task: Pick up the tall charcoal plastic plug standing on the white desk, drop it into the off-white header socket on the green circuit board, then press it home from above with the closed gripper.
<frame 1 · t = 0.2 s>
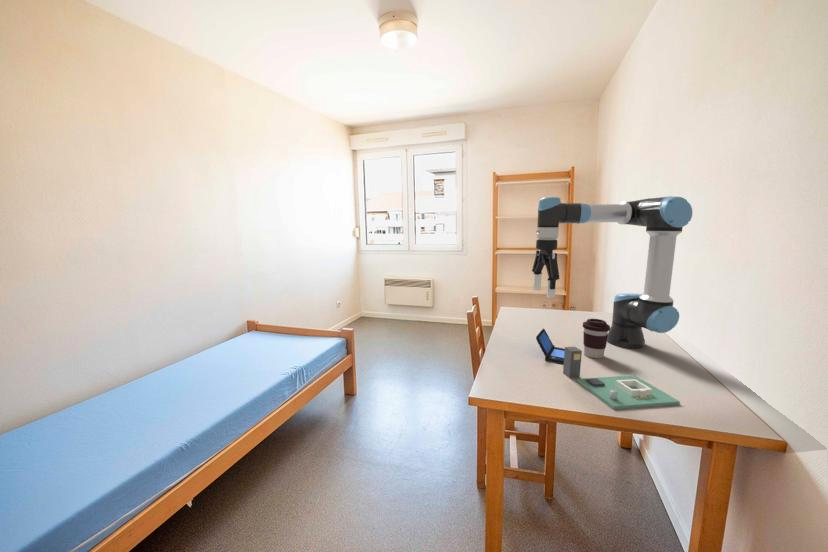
hand: (543, 293, 132), 27 cm above the table, fingers open, 13 cm apart
plug: (571, 375, 123), on the table
handheld game console: (554, 356, 141), on the table
coffee cup: (593, 355, 141), on the table
board: (624, 392, 110), on the table
header: (632, 393, 110), resting on board
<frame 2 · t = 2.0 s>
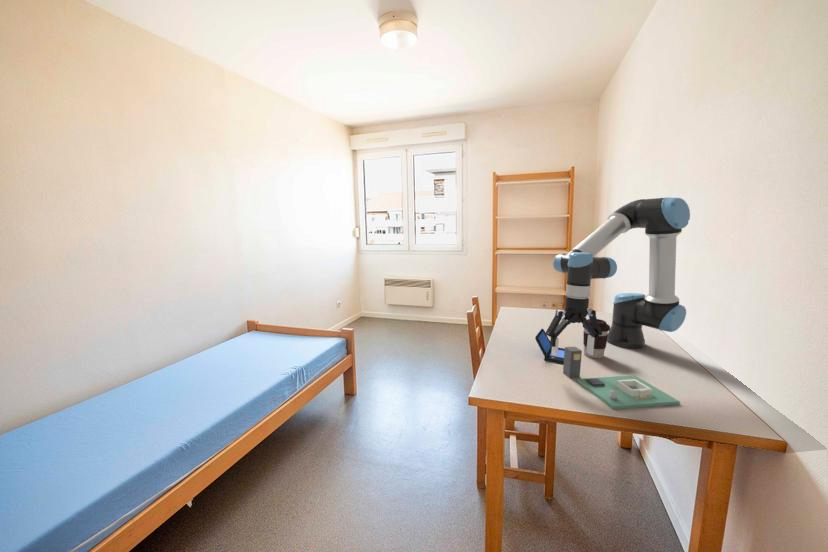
hand: (572, 354, 121), 8 cm above the table, fingers open, 13 cm apart
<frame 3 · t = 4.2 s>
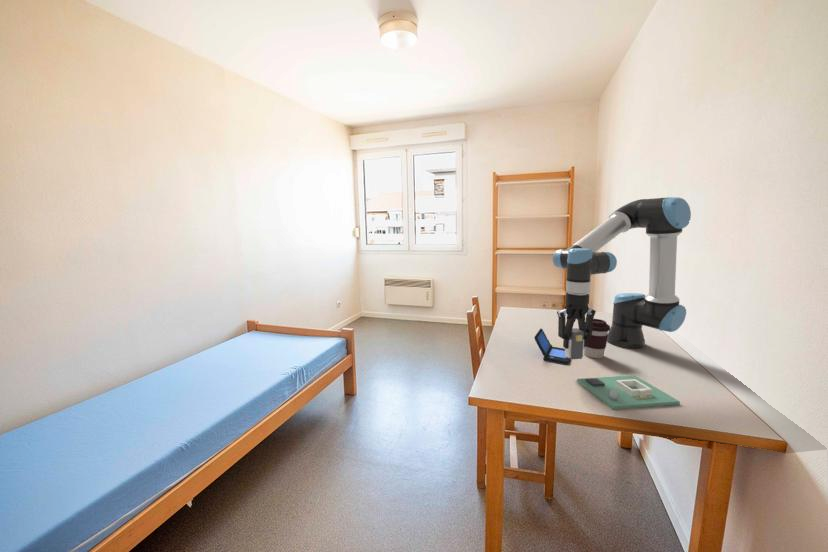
hand: (573, 355, 122), 7 cm above the table, fingers closed on plug, 4 cm apart
plug: (573, 356, 122), point 7 cm above the table, touching gripper
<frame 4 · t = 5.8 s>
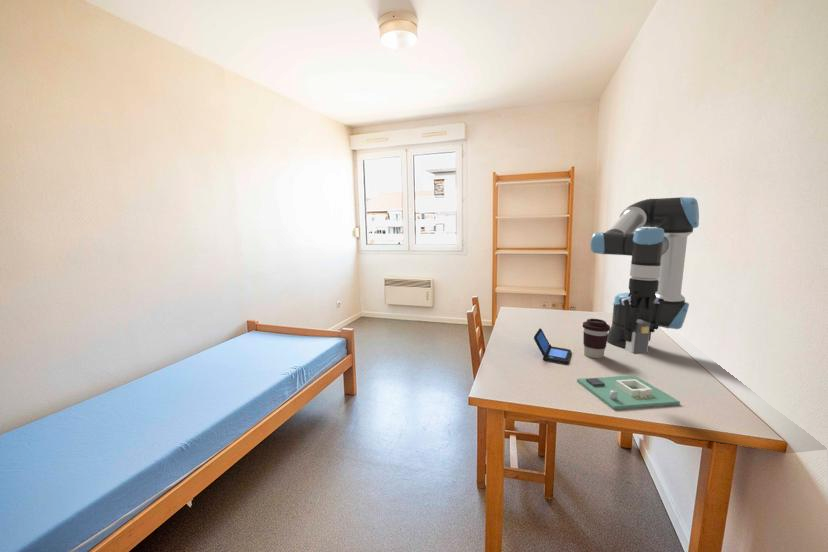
hand: (636, 350, 107), 15 cm above the table, fingers closed on plug, 4 cm apart
plug: (636, 351, 108), point 14 cm above the table, touching gripper
when the fingers open (4 cm above the table, at t = 7.6 s): plug drops 2 cm, resting on board.
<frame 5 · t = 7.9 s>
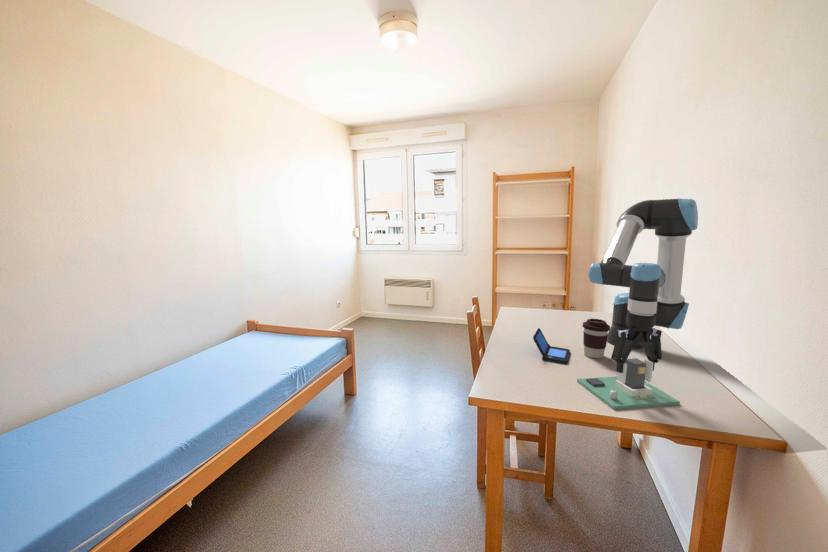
hand: (633, 380, 109), 4 cm above the table, fingers open, 8 cm apart
plug: (632, 390, 109), point 1 cm above the table, touching board
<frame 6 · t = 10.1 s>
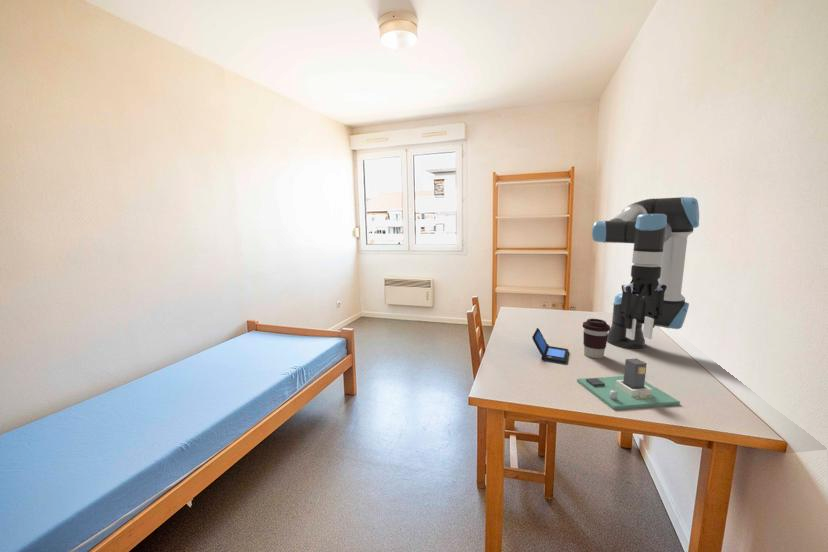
hand: (638, 337, 107), 19 cm above the table, fingers open, 5 cm apart
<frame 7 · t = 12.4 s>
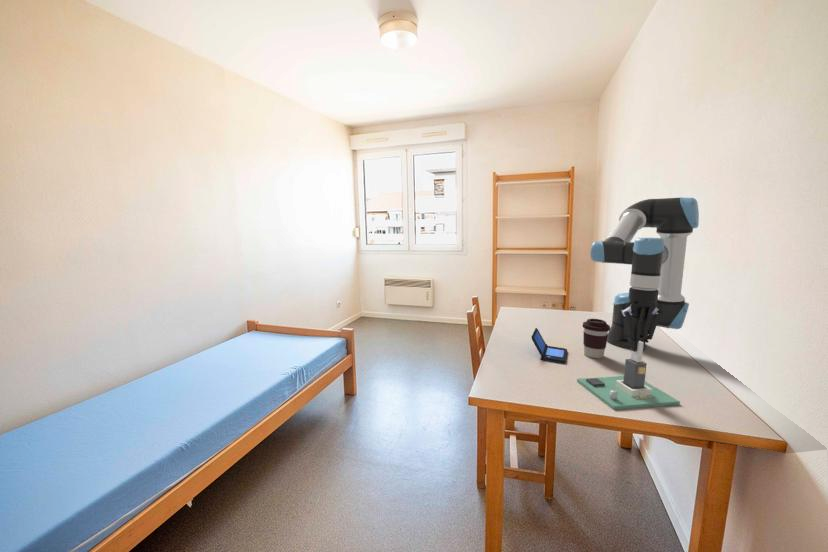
hand: (636, 360, 108), 11 cm above the table, fingers closed
plug: (632, 390, 109), point 1 cm above the table, touching board, gripper
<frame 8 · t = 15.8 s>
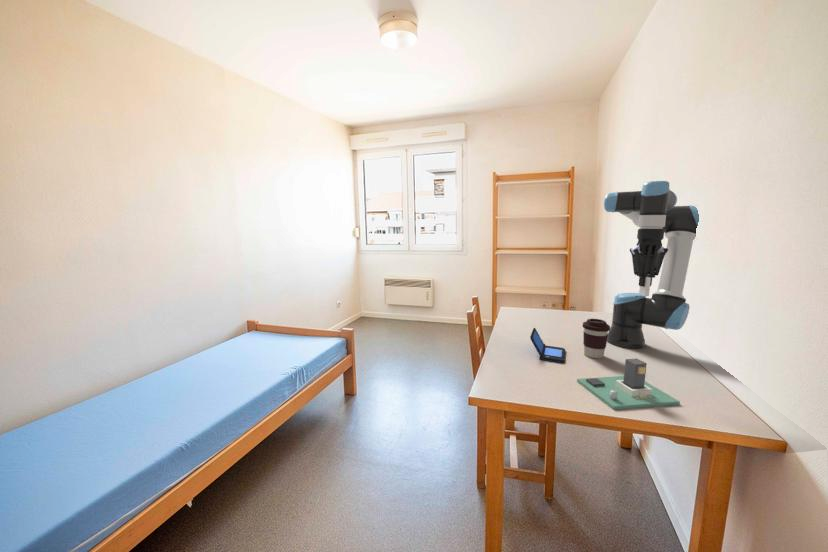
hand: (643, 295, 119), 29 cm above the table, fingers closed
plug: (632, 390, 109), point 1 cm above the table, touching board
at the end: plug 0.0 cm off-centre on the header, point 1.0 cm above the header's base; plug tilted 0°; the gripper is holding nothing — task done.
